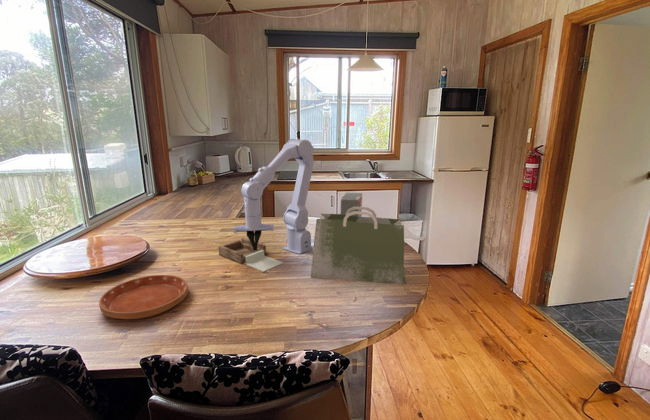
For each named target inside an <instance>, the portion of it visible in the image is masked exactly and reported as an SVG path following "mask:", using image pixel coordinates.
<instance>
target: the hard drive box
mask: <svg viewBox="0 0 650 420" xmlns="http://www.w3.org/2000/svg"><path fill="white" fill-rule="evenodd" d="M352 207H363V193H361V192H345V194H344V195H343V197H342V198H341V199H340V214H343V215H345V213H346V212H347V210H348V209H350V208H352ZM353 211H361V212H363V209H355V210H352V211H350V212H353ZM350 212H349V213H350ZM362 215H363V214H354V215H351V216H358V217H363V216H362Z"/></svg>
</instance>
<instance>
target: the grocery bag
mask: <svg viewBox="0 0 650 420" xmlns="http://www.w3.org/2000/svg"><path fill="white" fill-rule="evenodd" d="M355 209H362V212H361V211H353V212H350V211H352V210H355ZM363 210H364V211H363ZM367 211H368V212H367ZM349 212H350V213H349ZM354 214H362V215H364V216H362V217H358V216H351V215H354ZM319 217H320V218H316V221H315V222H316V223H315V230H314V238H313V239H314V241H313V247H312V249H313V250H312V259H311V260H312V261H311V270H310V271H311V273H310V278H312V279H314V278H318V279H319V278H321V279H322V278H323V279H324V278H325V279H339V280H349V281H357V282H368V283H377V284H397V285H398V284H399V285H402V284H404V285H405V284H406V285H407V279H406V273H405V266H404V265H405V225H402V220H401V219H399V218H386V217H377V214H376V212H375V211H374V210H373V209H371V208H369V207H365V206H362V207H352V208H350V209H348V210H347V212H346V213H345V215H343V214H341V213H321V214H320V216H319Z"/></svg>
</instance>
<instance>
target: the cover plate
mask: <svg viewBox="0 0 650 420" xmlns="http://www.w3.org/2000/svg"><path fill="white" fill-rule="evenodd" d="M245 261H246V262H245V263H243V265H247V266H248V267H251V268H254V269H255V270H258V271H260V272H263V273H264V272H267V271H269V270H271V269H274V268H275V267H278V266H281V265H282V264H284V262H283V261H280V260H277V259H275V258H272V257H270V256H266V255H264V250H260V251H257V252H255V253H252V254H249V255H247V256H245Z"/></svg>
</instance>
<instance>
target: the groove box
mask: <svg viewBox="0 0 650 420" xmlns="http://www.w3.org/2000/svg"><path fill="white" fill-rule="evenodd" d="M260 250H264V256H266V255H267V245H266V244H263V243H259V242H258V245H257V250H253V247H252V244H251V242H250V240H249V238H248V239H247V238H245V237H242V238H241V240H235V241H232V242H229V243H226V244H224V245H218V255H219V256H221V257H223V258H226V259H228V260H230V261H233V262H235V263H238V264H240V265H244V263H245V262H246V261H245V256H247V255H249V254H252V253H255V252H257V251H260Z"/></svg>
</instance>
